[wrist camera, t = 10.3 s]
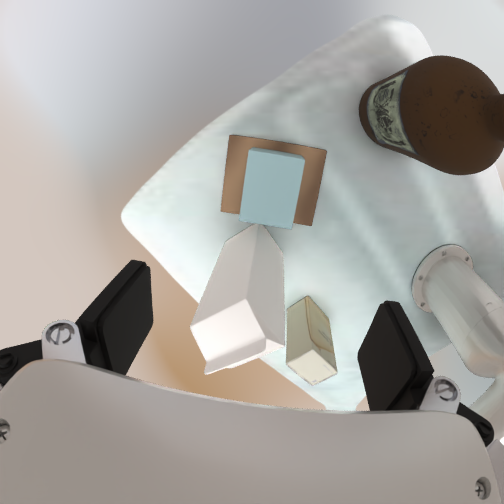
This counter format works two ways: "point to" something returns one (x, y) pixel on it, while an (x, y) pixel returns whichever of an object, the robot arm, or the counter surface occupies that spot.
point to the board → (242, 145)
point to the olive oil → (437, 115)
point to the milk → (242, 302)
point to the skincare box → (309, 342)
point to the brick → (271, 187)
